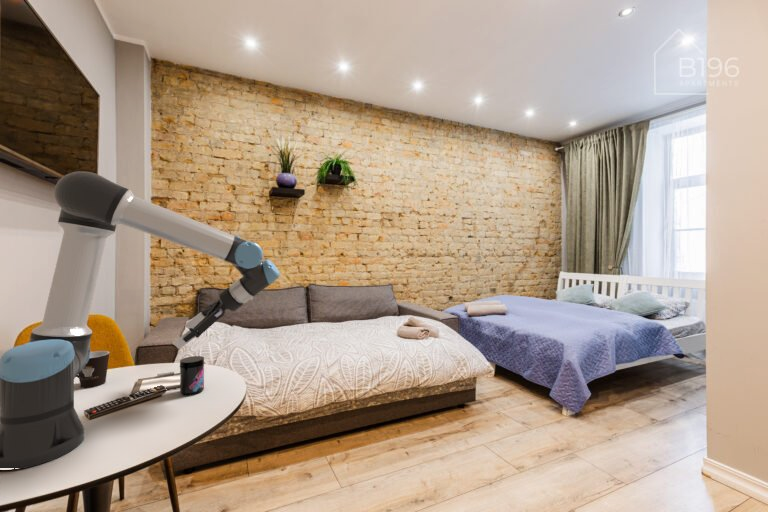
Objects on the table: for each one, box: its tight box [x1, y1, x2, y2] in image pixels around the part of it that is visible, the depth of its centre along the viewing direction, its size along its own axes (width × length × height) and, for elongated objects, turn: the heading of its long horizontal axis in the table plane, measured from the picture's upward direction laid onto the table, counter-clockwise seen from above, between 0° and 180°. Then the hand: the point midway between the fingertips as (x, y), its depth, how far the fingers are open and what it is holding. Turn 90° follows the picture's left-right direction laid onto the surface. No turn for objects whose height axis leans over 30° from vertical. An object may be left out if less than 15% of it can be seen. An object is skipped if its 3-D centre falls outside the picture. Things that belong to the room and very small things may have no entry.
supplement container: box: [179, 355, 205, 397], centre depth 108 cm, size 7×7×10 cm
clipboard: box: [132, 371, 180, 394], centre depth 115 cm, size 14×16×2 cm
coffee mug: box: [75, 350, 111, 389], centre depth 114 cm, size 12×9×10 cm
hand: (182, 336), depth 111 cm, fingers open, 13 cm apart
